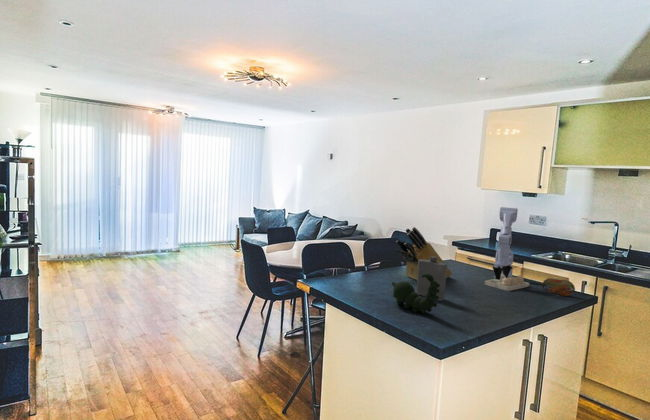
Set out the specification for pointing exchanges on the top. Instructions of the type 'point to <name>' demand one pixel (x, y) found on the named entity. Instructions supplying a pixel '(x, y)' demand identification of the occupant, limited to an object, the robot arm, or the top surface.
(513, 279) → the brown egg middle
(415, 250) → the knife block
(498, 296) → the top surface
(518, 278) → the brown egg
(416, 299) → the toy figurine
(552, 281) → the tin
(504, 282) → the brown egg
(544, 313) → the top surface
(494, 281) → the egg carton
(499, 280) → the cream egg
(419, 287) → the flask
